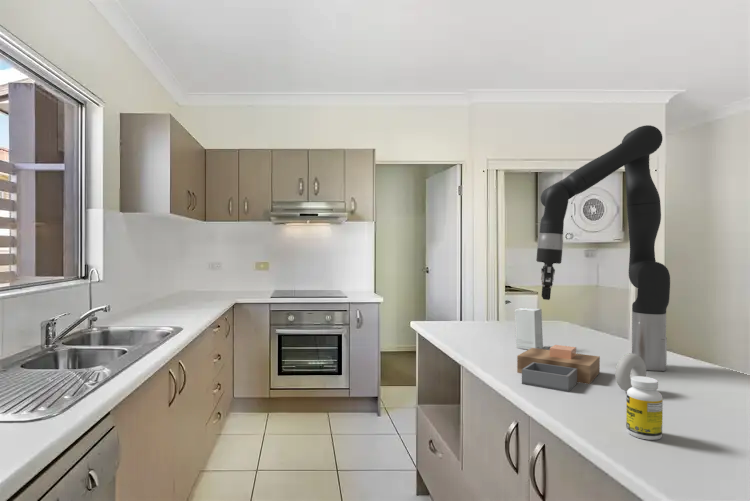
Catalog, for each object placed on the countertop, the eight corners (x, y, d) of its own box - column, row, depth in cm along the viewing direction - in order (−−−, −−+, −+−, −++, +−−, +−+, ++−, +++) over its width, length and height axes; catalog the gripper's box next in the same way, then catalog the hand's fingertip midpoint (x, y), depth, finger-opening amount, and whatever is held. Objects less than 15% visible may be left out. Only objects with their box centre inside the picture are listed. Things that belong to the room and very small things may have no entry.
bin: (577, 383, 127) (577, 368, 127) (568, 392, 119) (568, 376, 119) (533, 375, 134) (533, 362, 134) (521, 383, 126) (521, 369, 126)
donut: (624, 396, 116) (624, 356, 116) (612, 392, 119) (612, 353, 119) (649, 391, 120) (649, 352, 120) (636, 387, 123) (636, 350, 123)
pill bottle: (619, 429, 95) (619, 375, 95) (647, 428, 95) (648, 374, 95) (639, 441, 88) (639, 383, 88) (669, 440, 89) (670, 383, 89)
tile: (575, 355, 139) (576, 347, 139) (571, 359, 134) (571, 350, 134) (555, 352, 142) (555, 344, 142) (549, 356, 137) (549, 347, 137)
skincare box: (543, 349, 171) (543, 309, 171) (535, 351, 167) (535, 310, 167) (522, 345, 177) (522, 306, 177) (514, 348, 173) (514, 308, 173)
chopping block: (599, 373, 138) (599, 356, 138) (589, 384, 126) (589, 365, 126) (531, 363, 149) (532, 347, 149) (517, 372, 138) (517, 355, 138)
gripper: (564, 248, 140) (559, 301, 140) (560, 249, 153) (556, 298, 154) (538, 246, 142) (533, 299, 142) (536, 247, 156) (532, 295, 156)
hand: (545, 298), depth 148 cm, fingers open, 8 cm apart
